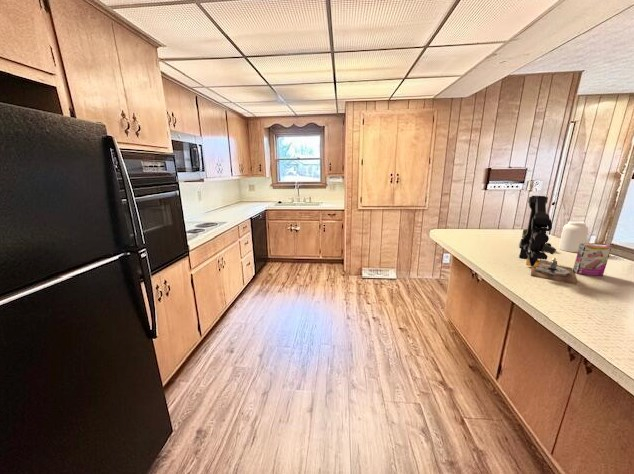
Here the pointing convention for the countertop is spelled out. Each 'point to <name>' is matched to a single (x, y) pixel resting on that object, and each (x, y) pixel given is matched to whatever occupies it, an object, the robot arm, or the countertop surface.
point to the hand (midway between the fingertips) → (531, 265)
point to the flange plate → (546, 269)
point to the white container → (573, 236)
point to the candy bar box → (591, 259)
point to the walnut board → (569, 278)
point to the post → (553, 265)
